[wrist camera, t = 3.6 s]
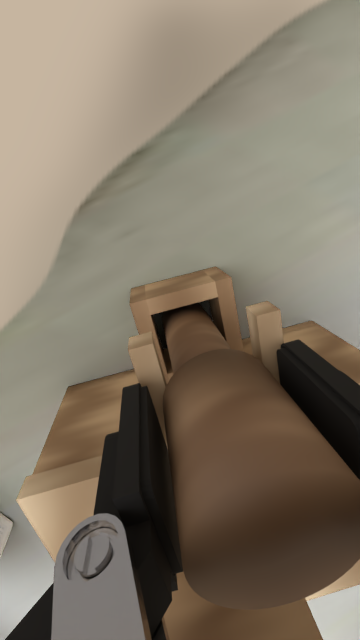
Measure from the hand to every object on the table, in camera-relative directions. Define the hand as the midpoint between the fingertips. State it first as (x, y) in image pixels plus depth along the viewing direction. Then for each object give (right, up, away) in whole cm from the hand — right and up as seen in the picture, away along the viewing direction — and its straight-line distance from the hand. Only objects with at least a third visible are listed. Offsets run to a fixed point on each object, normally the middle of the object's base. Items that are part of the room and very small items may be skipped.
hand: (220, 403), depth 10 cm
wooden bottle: (-1, +3, +8) cm, 9 cm away
